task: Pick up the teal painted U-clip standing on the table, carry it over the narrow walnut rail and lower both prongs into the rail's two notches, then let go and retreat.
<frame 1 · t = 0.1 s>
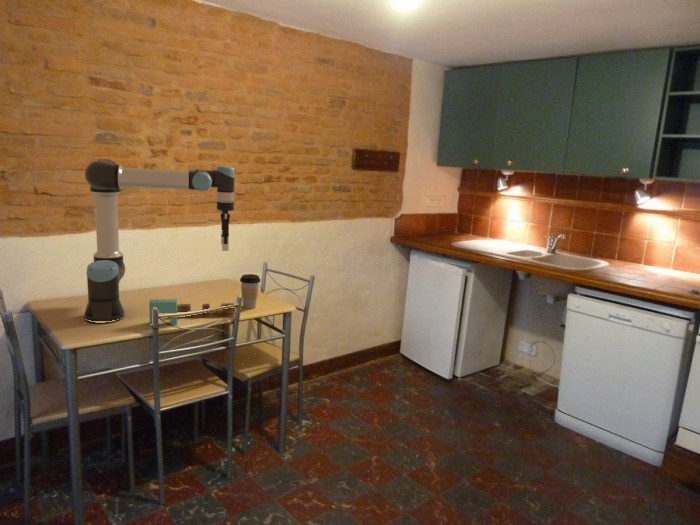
hand: (224, 247, 234), 28 cm above the table, fingers open, 13 cm apart
clip: (163, 323, 212), on the table
rail: (205, 315, 225), on the table
coffee cup: (249, 307, 241), on the table
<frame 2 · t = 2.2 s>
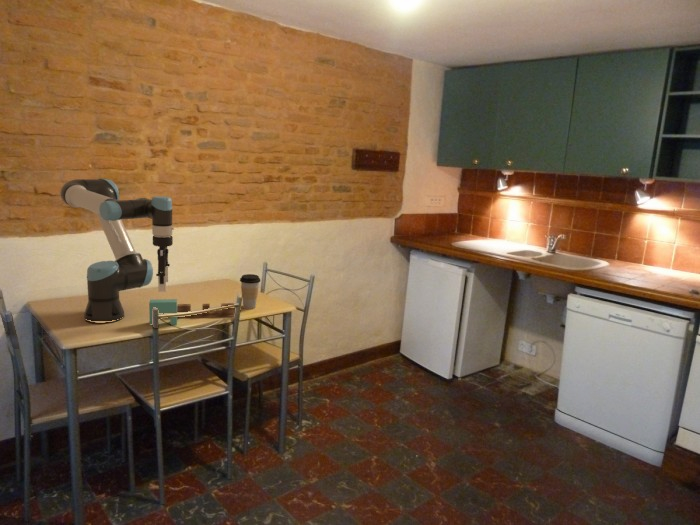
hand: (163, 286, 209), 16 cm above the table, fingers open, 13 cm apart
nothing on the table moved.
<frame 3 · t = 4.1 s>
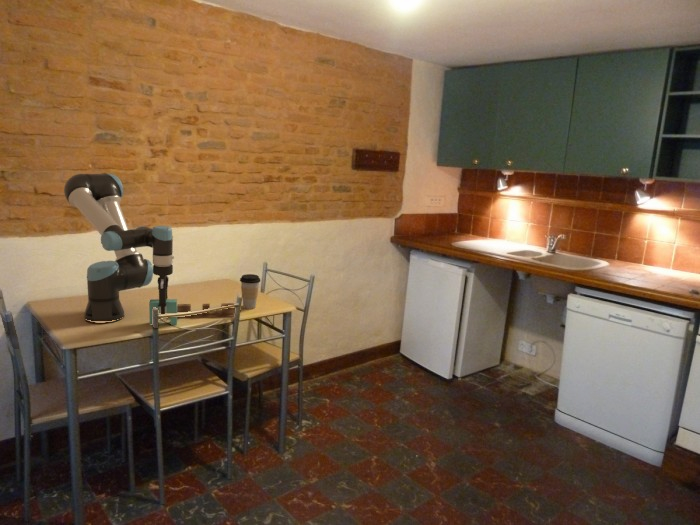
hand: (163, 318, 212), 2 cm above the table, fingers closed on clip, 4 cm apart
clip: (163, 323, 212), on the table, touching gripper
everything else where it was.
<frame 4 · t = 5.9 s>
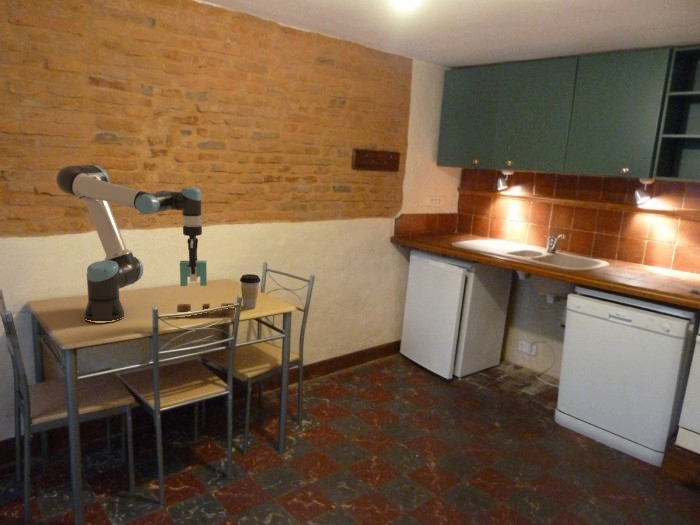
hand: (193, 279, 216), 18 cm above the table, fingers closed on clip, 4 cm apart
clip: (193, 284, 217), point 15 cm above the table, touching gripper
everything else where it was.
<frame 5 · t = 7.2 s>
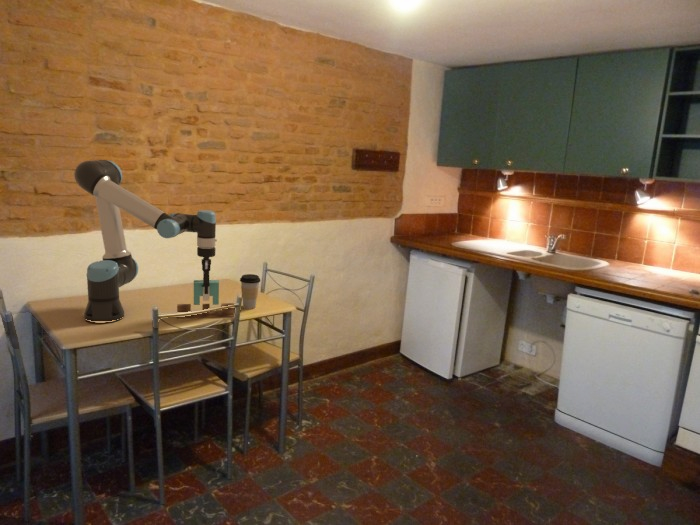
hand: (206, 298, 224), 8 cm above the table, fingers closed on clip, 4 cm apart
clip: (206, 303, 224), point 6 cm above the table, touching gripper
everything else where it was.
when the fingers open (5 cm above the table, at t = 8.0 s): clip drops 1 cm, resting on rail.
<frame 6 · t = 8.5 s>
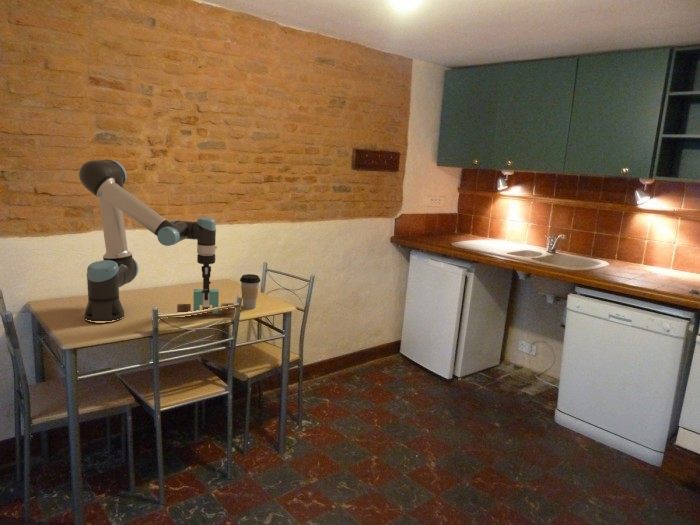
hand: (206, 302, 224), 6 cm above the table, fingers open, 11 cm apart
clip: (205, 312, 225), point 1 cm above the table, touching rail
everything else where it was.
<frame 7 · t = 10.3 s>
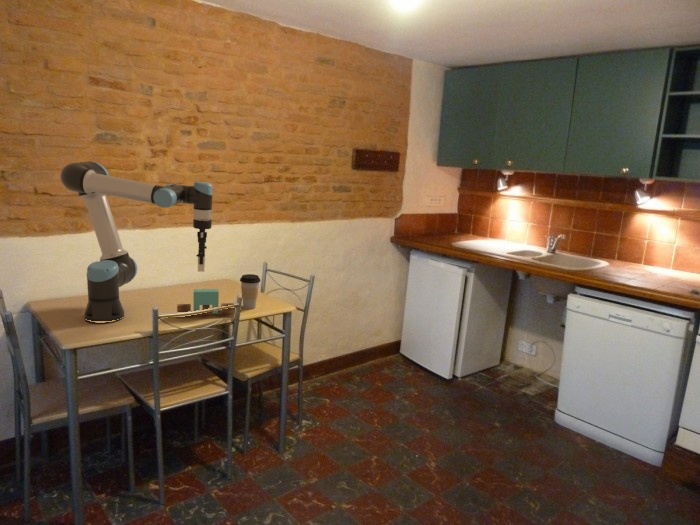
hand: (201, 267, 221), 22 cm above the table, fingers open, 13 cm apart
nothing on the table moved.
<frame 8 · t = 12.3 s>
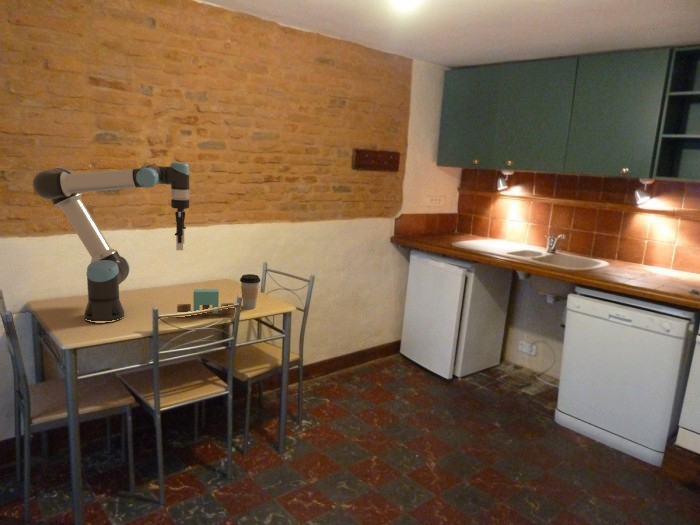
hand: (180, 246, 225), 29 cm above the table, fingers open, 13 cm apart
nothing on the table moved.
at the end: clip 0.0 cm off-centre on the rail, point 1.5 cm above the rail's base; clip tilted 0°; the gripper is holding nothing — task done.
